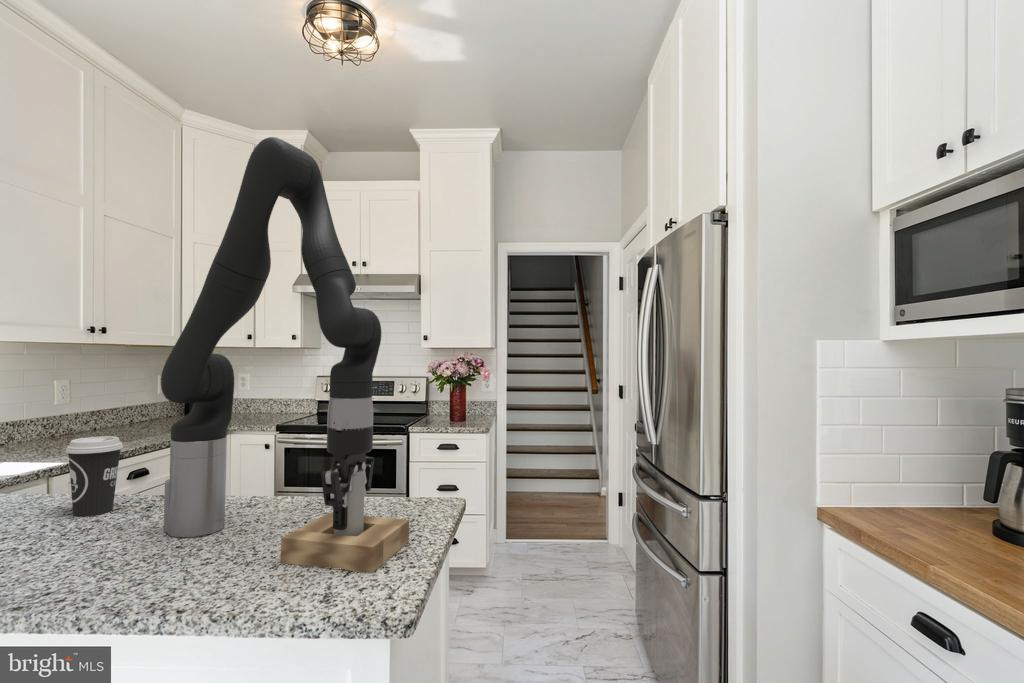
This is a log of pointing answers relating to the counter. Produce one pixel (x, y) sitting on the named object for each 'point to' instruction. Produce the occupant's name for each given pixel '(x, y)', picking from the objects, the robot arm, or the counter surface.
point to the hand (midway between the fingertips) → (348, 523)
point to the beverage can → (355, 507)
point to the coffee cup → (93, 474)
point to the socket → (345, 544)
